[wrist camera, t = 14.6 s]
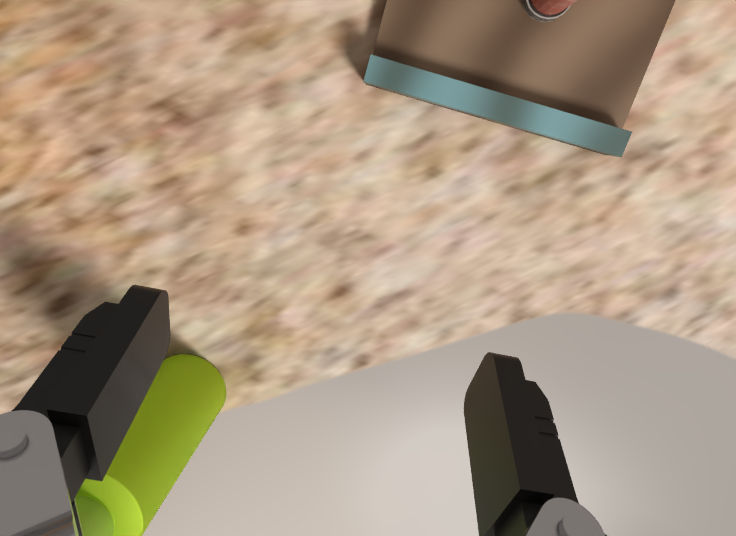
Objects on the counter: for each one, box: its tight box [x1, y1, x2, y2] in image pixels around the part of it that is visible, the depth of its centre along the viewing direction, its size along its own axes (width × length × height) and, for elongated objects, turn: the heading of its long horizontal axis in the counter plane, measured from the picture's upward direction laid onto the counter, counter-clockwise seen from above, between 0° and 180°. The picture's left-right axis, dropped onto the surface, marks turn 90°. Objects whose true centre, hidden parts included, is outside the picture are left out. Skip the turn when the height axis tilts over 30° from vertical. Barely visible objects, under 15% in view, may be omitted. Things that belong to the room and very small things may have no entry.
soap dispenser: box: [75, 354, 226, 536], centre depth 29 cm, size 6×7×20 cm
